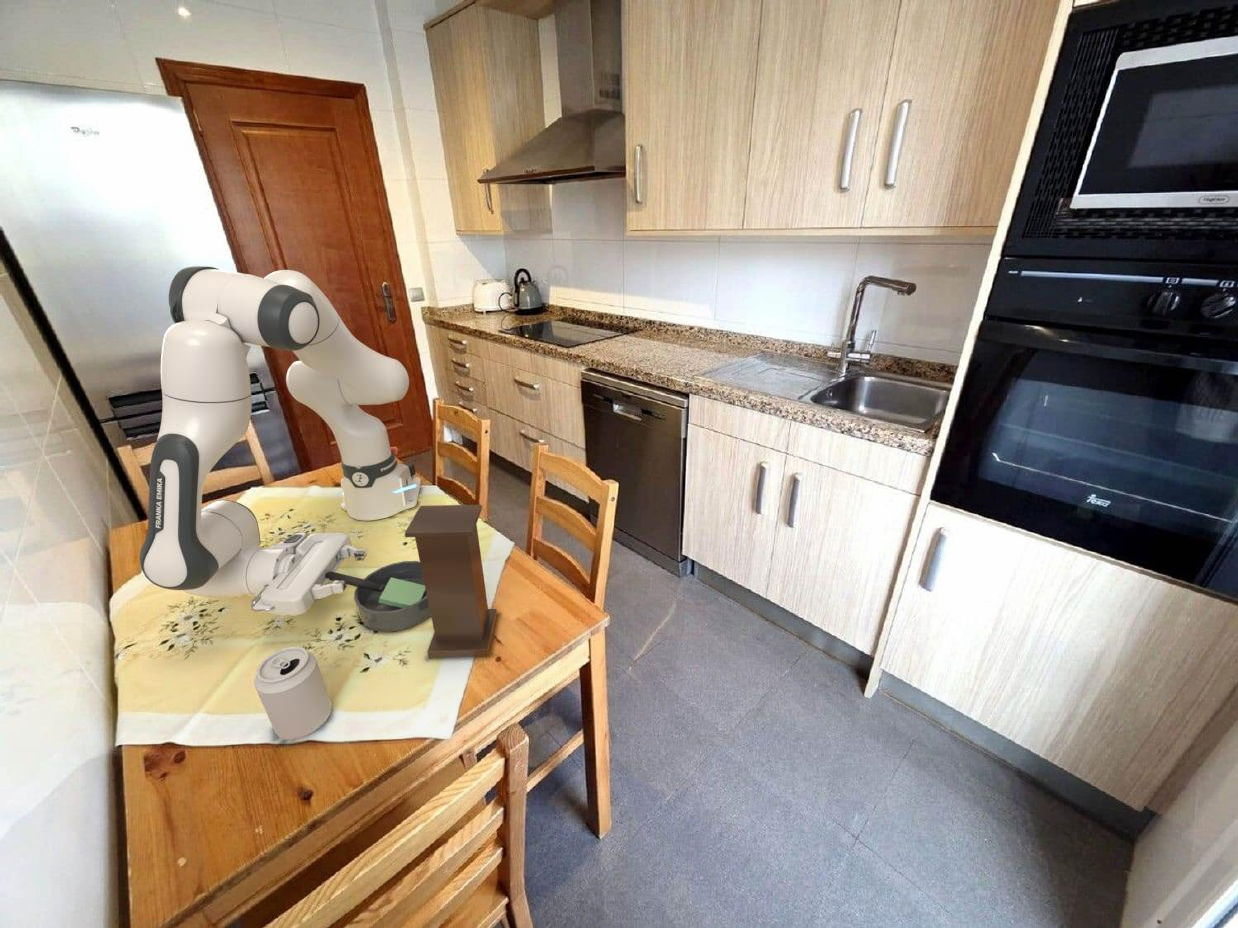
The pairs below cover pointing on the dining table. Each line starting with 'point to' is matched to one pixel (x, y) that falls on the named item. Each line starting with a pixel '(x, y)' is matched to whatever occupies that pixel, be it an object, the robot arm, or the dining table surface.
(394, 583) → the spatula
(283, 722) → the can
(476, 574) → the stand
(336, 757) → the dining table surface
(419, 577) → the pan
